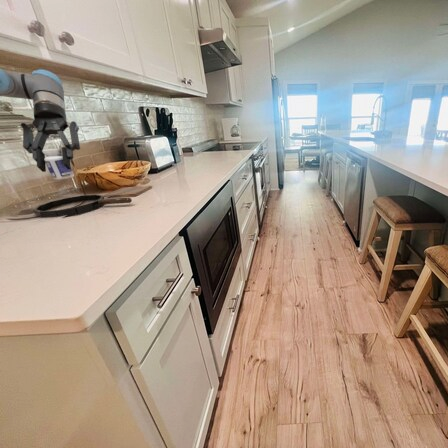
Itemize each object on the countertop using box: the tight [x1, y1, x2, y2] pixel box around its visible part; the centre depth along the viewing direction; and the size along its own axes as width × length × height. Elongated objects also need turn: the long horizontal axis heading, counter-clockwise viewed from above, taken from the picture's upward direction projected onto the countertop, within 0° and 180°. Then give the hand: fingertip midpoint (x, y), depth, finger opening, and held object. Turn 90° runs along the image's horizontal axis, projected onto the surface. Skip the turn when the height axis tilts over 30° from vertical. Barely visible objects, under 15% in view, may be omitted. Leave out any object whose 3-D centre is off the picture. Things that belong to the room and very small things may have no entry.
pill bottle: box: [42, 148, 75, 180], centre depth 76 cm, size 5×5×9 cm
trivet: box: [103, 185, 153, 199], centre depth 97 cm, size 12×12×1 cm
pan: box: [33, 194, 133, 219], centre depth 80 cm, size 28×17×3 cm, turn 93°
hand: (54, 167), depth 73 cm, fingers closed on pill bottle, 5 cm apart
